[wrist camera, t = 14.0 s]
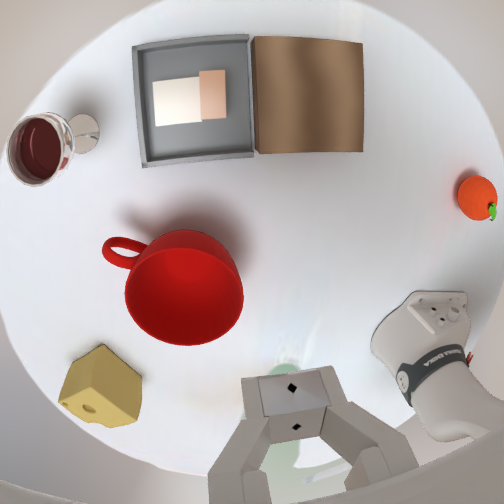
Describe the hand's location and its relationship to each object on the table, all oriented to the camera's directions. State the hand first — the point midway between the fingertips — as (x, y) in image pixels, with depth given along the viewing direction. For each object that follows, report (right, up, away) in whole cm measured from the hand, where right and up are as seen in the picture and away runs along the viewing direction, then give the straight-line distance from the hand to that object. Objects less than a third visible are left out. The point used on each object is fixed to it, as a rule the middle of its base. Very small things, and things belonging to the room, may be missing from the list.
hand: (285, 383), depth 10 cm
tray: (-8, +22, +23) cm, 33 cm away
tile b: (-4, +21, +21) cm, 30 cm away
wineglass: (-22, +19, +23) cm, 37 cm away
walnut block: (+5, +23, +24) cm, 34 cm away
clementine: (+33, +14, +33) cm, 49 cm away
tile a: (-9, +20, +20) cm, 30 cm away
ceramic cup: (-11, +4, +32) cm, 34 cm away
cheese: (-27, -17, +40) cm, 51 cm away
